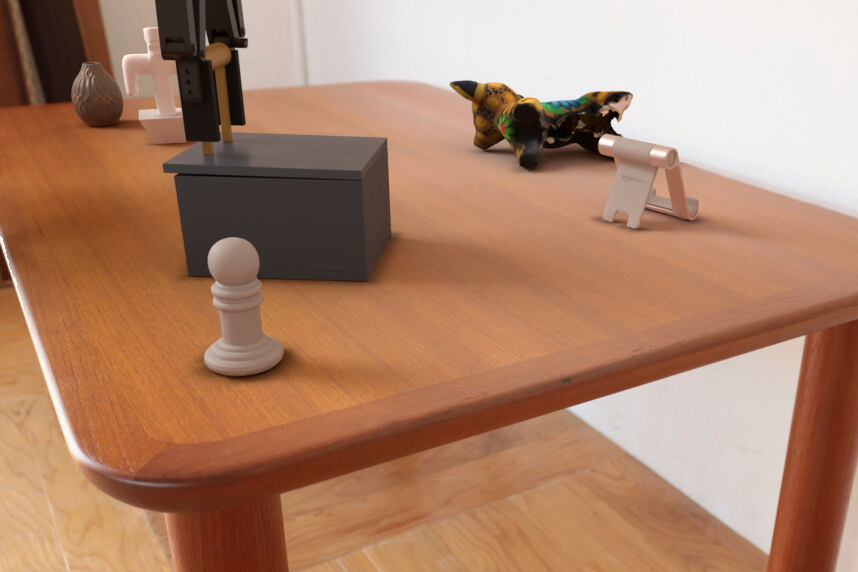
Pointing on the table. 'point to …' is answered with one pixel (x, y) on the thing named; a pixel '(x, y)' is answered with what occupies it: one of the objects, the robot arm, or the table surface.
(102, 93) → the vase
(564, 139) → the dog figurine
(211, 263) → the chess piece
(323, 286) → the table surface
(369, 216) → the chest
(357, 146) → the lid
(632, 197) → the tablet stand
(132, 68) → the figurine
